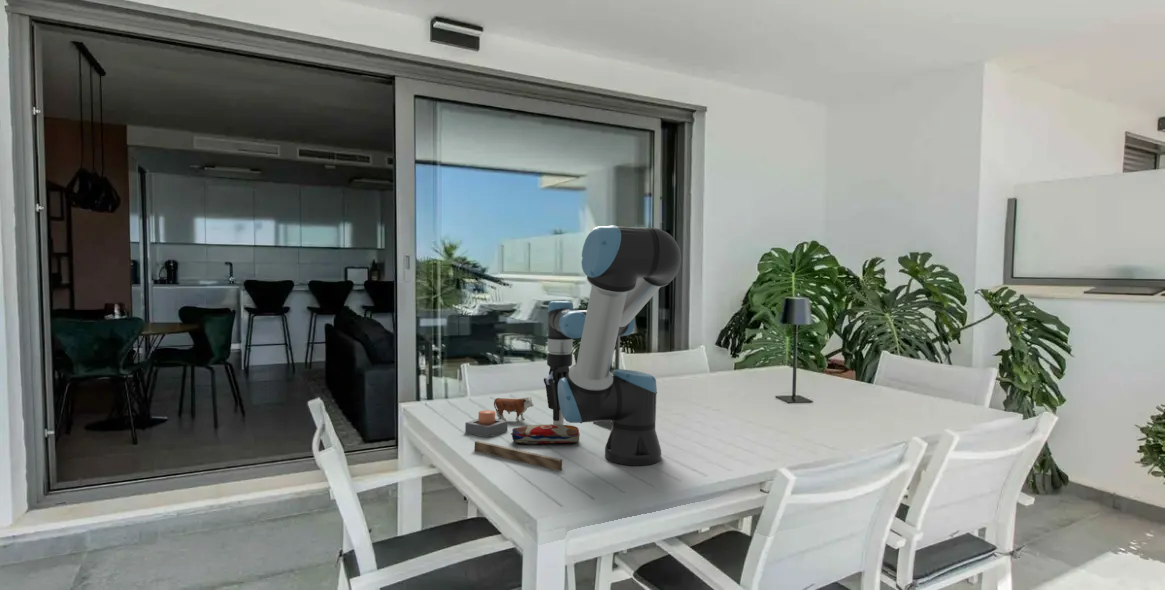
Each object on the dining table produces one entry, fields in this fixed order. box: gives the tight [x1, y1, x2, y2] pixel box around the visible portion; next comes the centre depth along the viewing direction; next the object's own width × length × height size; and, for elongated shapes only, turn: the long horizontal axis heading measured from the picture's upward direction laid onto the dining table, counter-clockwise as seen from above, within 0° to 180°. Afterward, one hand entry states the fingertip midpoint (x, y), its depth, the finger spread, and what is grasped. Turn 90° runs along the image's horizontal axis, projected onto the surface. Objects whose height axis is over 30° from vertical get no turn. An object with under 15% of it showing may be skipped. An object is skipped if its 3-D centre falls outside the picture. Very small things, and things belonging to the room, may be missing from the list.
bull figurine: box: [493, 396, 535, 422], centre depth 203 cm, size 4×13×8 cm, turn 81°
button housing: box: [464, 418, 509, 438], centre depth 188 cm, size 9×9×3 cm
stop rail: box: [474, 440, 563, 471], centre depth 162 cm, size 28×1×2 cm, turn 58°
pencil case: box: [510, 424, 581, 445], centre depth 178 cm, size 11×20×5 cm, turn 81°
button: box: [477, 409, 496, 425], centre depth 188 cm, size 5×5×4 cm
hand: (558, 430), depth 185 cm, fingers closed
